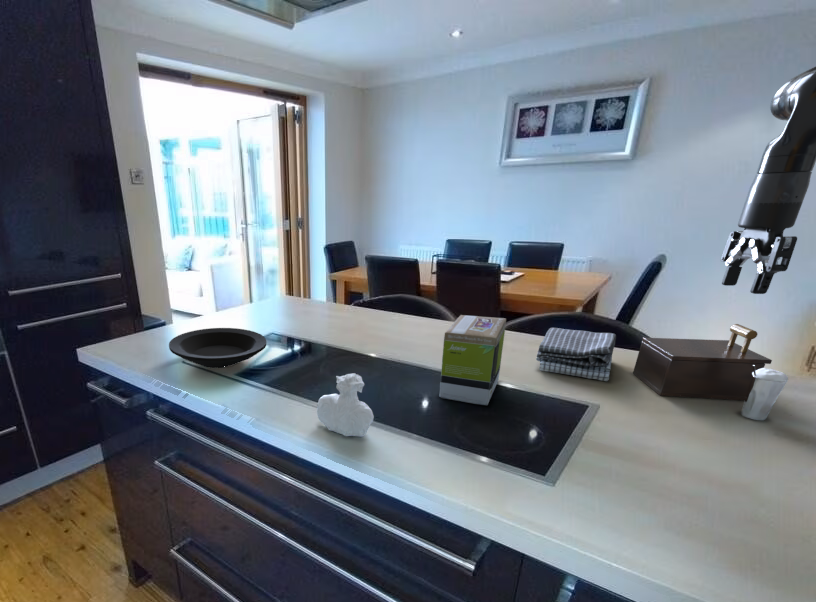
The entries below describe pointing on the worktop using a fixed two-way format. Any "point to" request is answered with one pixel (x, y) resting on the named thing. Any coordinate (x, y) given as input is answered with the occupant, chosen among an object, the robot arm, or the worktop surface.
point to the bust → (345, 408)
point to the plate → (217, 346)
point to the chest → (693, 376)
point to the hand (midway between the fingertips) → (742, 289)
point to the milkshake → (763, 392)
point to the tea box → (472, 359)
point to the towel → (577, 353)
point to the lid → (710, 348)
